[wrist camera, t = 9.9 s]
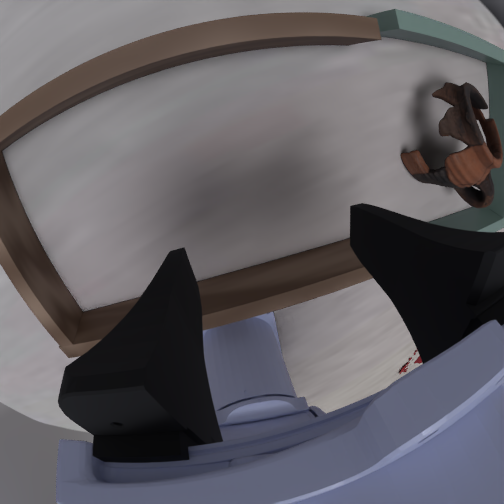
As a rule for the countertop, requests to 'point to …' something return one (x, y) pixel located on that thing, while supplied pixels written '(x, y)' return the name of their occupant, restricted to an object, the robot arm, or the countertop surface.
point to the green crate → (500, 98)
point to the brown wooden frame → (211, 290)
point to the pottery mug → (472, 157)
